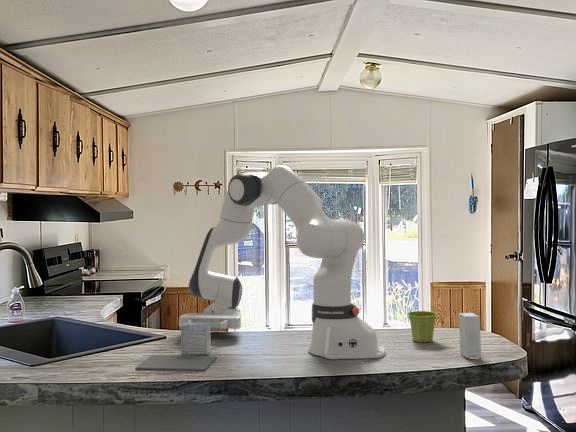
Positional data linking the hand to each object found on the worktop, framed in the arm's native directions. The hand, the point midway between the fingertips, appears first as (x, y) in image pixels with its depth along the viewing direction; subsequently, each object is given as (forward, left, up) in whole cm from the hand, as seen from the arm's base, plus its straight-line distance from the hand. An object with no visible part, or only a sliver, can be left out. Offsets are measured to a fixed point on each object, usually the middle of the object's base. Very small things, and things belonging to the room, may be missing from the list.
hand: (204, 326), depth 183 cm
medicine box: (0, +11, -6) cm, 13 cm away
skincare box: (-79, +9, -6) cm, 80 cm away
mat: (+2, +23, -6) cm, 24 cm away
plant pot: (-68, -10, -6) cm, 69 cm away
